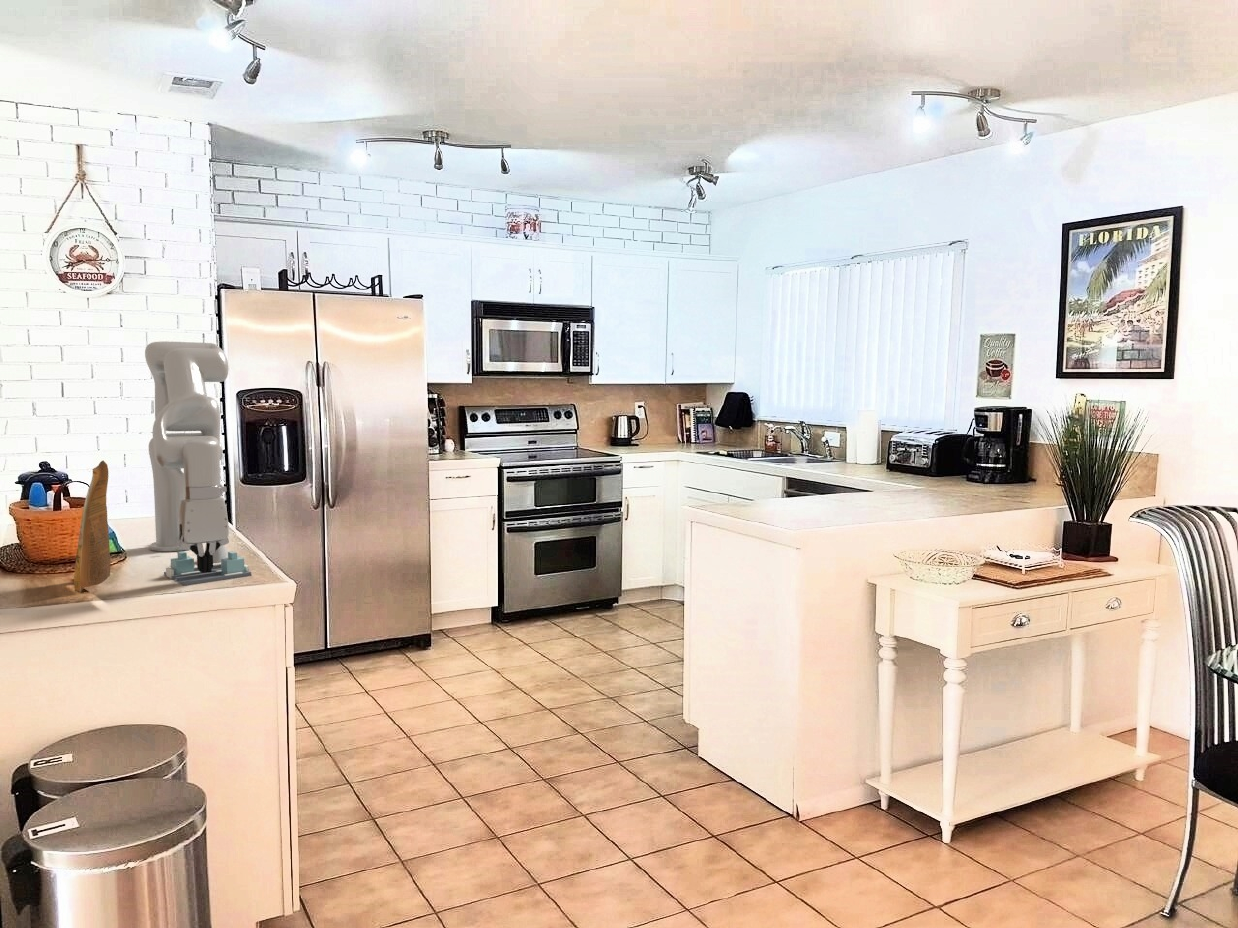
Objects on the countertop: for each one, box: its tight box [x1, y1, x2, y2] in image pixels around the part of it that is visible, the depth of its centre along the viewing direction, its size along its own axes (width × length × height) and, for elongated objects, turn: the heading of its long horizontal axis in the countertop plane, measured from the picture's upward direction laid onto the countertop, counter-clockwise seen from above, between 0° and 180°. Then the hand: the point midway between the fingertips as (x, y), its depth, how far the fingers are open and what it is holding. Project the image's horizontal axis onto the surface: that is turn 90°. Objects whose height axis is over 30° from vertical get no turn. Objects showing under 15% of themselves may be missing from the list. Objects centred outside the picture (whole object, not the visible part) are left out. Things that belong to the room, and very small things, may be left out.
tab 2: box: [220, 550, 245, 576], centre depth 210 cm, size 4×4×6 cm
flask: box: [213, 545, 229, 564], centre depth 226 cm, size 7×7×10 cm
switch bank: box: [163, 563, 253, 587], centre depth 210 cm, size 14×15×3 cm
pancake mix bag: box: [73, 460, 111, 594], centre depth 203 cm, size 7×19×28 cm, turn 16°
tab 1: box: [170, 550, 195, 575], centre depth 209 cm, size 4×4×6 cm
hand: (205, 571), depth 206 cm, fingers closed
